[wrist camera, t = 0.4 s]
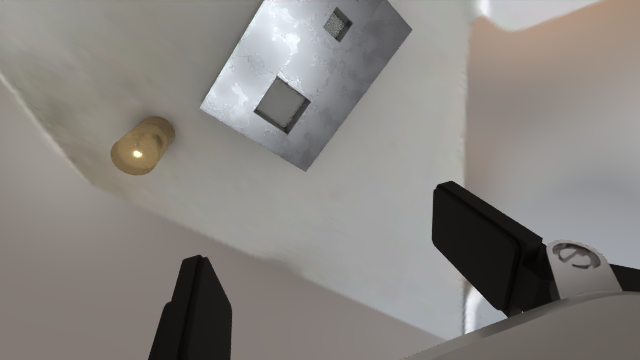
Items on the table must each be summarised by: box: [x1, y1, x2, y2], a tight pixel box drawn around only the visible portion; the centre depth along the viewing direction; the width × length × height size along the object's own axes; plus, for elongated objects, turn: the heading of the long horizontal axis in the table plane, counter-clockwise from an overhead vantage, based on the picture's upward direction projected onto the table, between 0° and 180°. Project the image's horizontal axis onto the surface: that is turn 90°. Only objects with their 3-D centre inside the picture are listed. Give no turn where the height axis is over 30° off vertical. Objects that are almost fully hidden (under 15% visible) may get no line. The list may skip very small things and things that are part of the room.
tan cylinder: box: [111, 117, 175, 175], centre depth 35 cm, size 4×4×10 cm
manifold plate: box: [200, 0, 412, 172], centre depth 39 cm, size 18×26×3 cm
